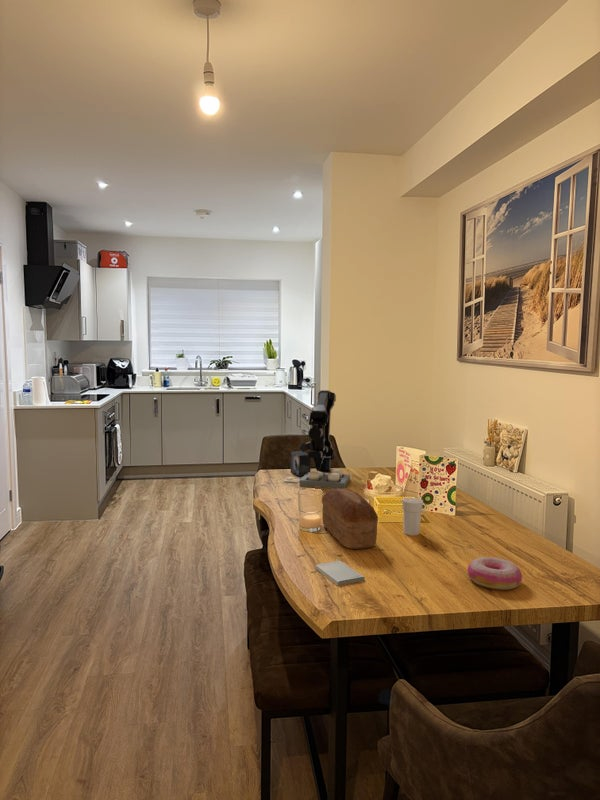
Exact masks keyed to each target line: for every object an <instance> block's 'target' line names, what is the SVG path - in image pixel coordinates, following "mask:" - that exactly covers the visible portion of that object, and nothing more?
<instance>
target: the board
mask: <svg viewBox="0 0 600 800" xmlns="http://www.w3.org/2000/svg"><path fill="white" fill-rule="evenodd" d="M329 473H330V472H323V476H319V480H318V481H314V480H308V472H307V473H306V474H305V475H304V476H302V477H299V476H287V477H286V478H285V479H284V480H283V482H284V483H294V484H298V483H299V486H300V487H314V488H323V489H325V488H326V489H334V488H337V489H342V488H346V487H347V485H348V484H349V482H350V480H351V474H347V473H342V477H341V478H339V482H329V481H328V474H329Z"/></svg>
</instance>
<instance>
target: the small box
mask: <svg viewBox="0 0 600 800" xmlns="http://www.w3.org/2000/svg"><path fill="white" fill-rule="evenodd" d="M308 453H309V452H306V451H304V452H301V450H297V451H291V452H290V473H292V474H294V475H295V476H296V477H299V478H302V477H303V476H304V475H305V474H306V473H307V472H311V458H308Z"/></svg>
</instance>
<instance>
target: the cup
mask: <svg viewBox="0 0 600 800" xmlns="http://www.w3.org/2000/svg"><path fill="white" fill-rule="evenodd" d="M423 505H424V500H423V499H420V498H416V497H404V498H403V499H402V505H401V506H402V511H403V534H404V535H407V536H418V535H420V529H421V519H422V518H421V517H422V511H423Z"/></svg>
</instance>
